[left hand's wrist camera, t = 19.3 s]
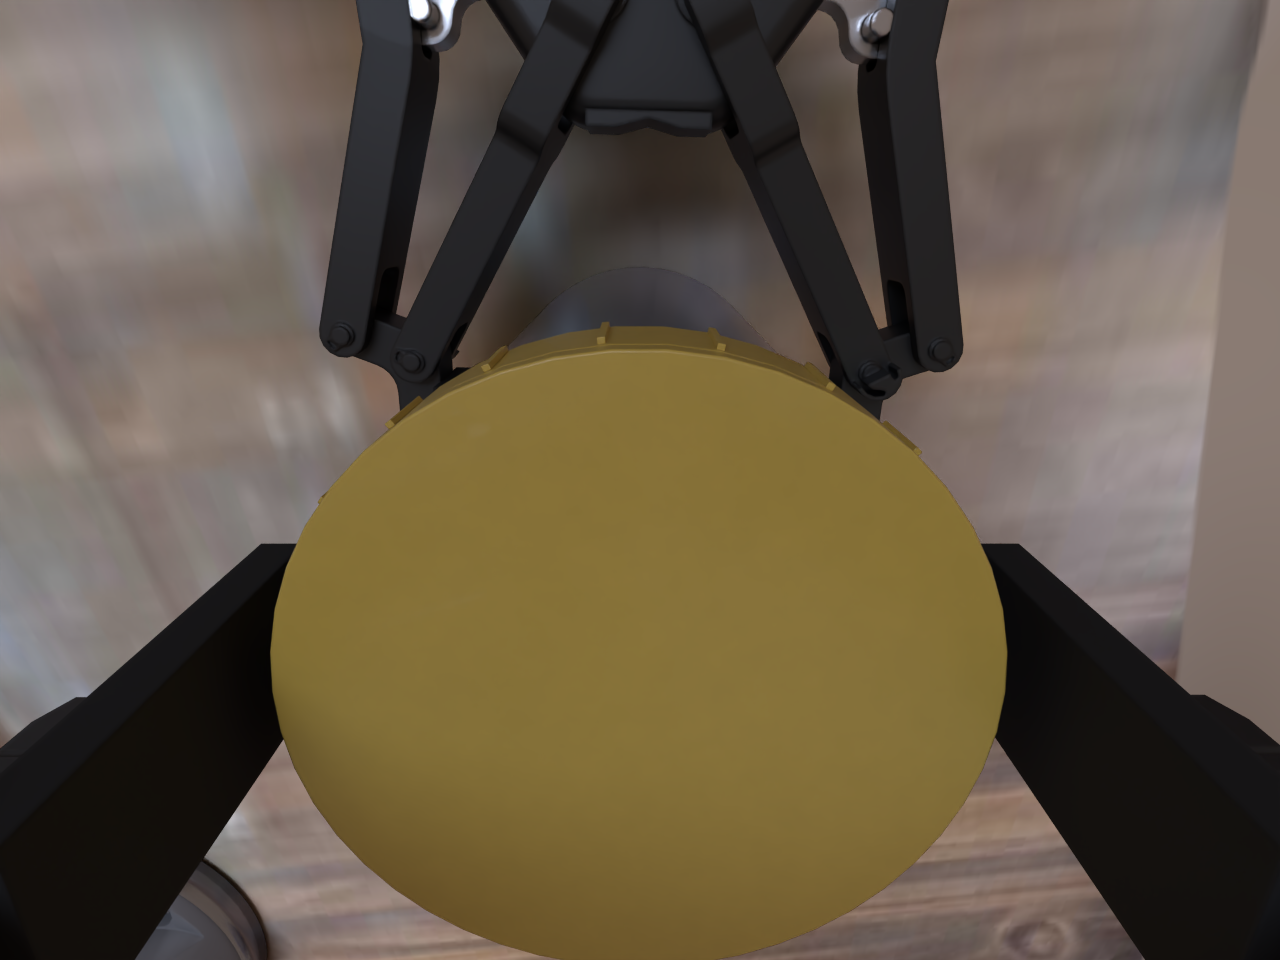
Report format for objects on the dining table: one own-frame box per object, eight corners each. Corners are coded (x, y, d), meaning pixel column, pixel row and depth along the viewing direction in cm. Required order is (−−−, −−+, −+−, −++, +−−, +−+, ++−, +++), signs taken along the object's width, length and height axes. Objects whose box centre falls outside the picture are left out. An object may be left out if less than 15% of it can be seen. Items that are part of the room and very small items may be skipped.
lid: (1057, 397, 11) (1141, 433, 9) (846, 910, 14) (876, 1009, 13) (340, 251, 10) (275, 259, 8) (310, 830, 14) (259, 923, 12)
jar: (571, 546, 30) (487, 956, 14) (470, 323, 27) (198, 504, 10) (797, 468, 29) (1008, 813, 12) (719, 225, 26) (864, 251, 9)
